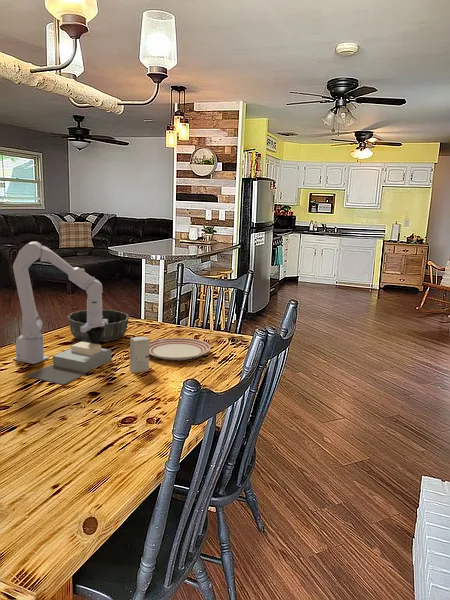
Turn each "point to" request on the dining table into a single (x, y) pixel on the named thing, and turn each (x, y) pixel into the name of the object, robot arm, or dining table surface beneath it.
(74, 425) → the dining table surface
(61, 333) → the dining table surface
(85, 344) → the cream rectangular block
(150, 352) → the dinner plate
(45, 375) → the mat
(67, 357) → the grey flat block
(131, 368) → the skincare box
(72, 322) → the bundt pan
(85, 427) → the dining table surface
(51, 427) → the dining table surface
